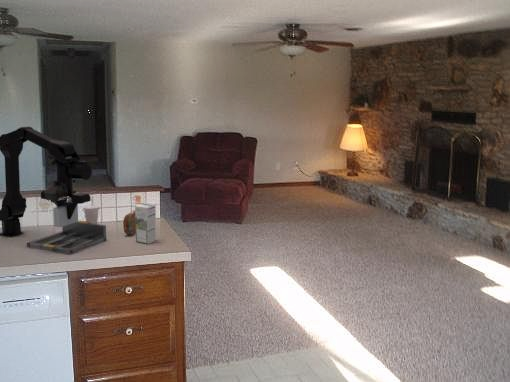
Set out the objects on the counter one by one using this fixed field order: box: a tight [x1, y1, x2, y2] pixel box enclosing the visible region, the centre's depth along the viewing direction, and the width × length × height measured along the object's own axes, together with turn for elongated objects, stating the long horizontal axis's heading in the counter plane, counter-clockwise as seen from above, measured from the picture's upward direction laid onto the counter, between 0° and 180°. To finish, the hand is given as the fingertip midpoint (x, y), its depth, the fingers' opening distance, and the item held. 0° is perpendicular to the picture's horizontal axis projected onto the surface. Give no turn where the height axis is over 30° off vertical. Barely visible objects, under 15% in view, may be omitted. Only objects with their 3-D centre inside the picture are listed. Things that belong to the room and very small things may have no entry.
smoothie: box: [82, 195, 100, 224], centre depth 224 cm, size 6×6×14 cm
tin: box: [122, 209, 136, 236], centre depth 222 cm, size 15×3×8 cm, turn 168°
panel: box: [53, 204, 79, 229], centre depth 203 cm, size 2×10×7 cm, turn 157°
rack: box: [26, 219, 107, 256], centre depth 204 cm, size 20×20×6 cm
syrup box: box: [134, 202, 157, 245], centre depth 209 cm, size 6×6×14 cm
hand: (66, 218), depth 203 cm, fingers closed on panel, 2 cm apart
